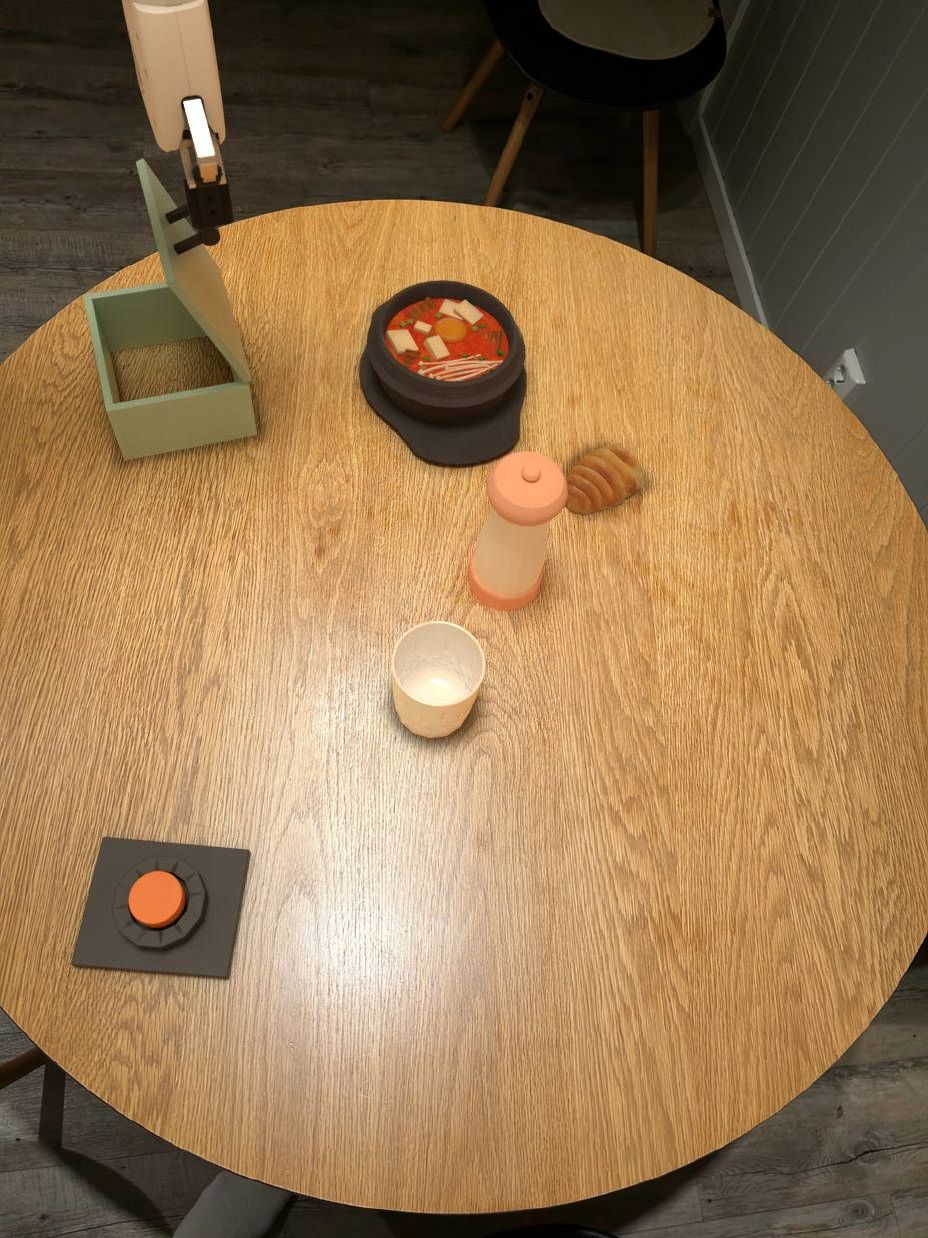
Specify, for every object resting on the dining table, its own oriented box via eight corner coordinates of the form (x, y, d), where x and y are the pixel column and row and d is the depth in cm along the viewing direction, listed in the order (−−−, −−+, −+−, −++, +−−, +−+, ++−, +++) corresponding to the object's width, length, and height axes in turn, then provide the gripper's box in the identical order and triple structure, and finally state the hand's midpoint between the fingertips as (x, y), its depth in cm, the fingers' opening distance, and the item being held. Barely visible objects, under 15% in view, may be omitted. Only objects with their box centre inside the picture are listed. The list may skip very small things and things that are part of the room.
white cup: (483, 682, 89) (495, 635, 80) (460, 758, 85) (471, 717, 76) (403, 659, 89) (407, 609, 80) (377, 733, 85) (379, 690, 77)
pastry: (585, 535, 98) (593, 514, 94) (541, 493, 100) (547, 471, 96) (646, 489, 101) (655, 468, 98) (602, 450, 103) (610, 427, 100)
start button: (127, 925, 72) (122, 921, 71) (139, 873, 74) (134, 868, 73) (180, 930, 73) (175, 926, 71) (190, 878, 75) (186, 873, 73)
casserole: (554, 459, 102) (569, 408, 94) (387, 488, 98) (389, 437, 91) (490, 294, 113) (499, 237, 105) (337, 315, 109) (335, 256, 101)
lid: (166, 283, 78) (219, 257, 78) (135, 161, 85) (184, 137, 84) (245, 383, 91) (291, 362, 91) (213, 271, 98) (256, 251, 97)
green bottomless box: (127, 467, 96) (106, 411, 89) (104, 355, 103) (82, 294, 95) (258, 442, 99) (249, 385, 92) (228, 334, 106) (217, 273, 98)
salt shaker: (453, 568, 94) (472, 450, 77) (516, 543, 96) (548, 423, 79) (487, 627, 92) (514, 517, 75) (551, 600, 94) (591, 487, 77)
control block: (78, 968, 74) (63, 961, 71) (109, 843, 79) (96, 830, 75) (230, 981, 75) (224, 974, 71) (252, 855, 79) (247, 844, 76)
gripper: (74, -119, 62) (131, 120, 78) (122, 35, 55) (174, 265, 70) (187, -127, 64) (221, 108, 79) (247, 21, 57) (272, 249, 72)
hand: (199, 182), depth 75 cm, fingers open, 9 cm apart
